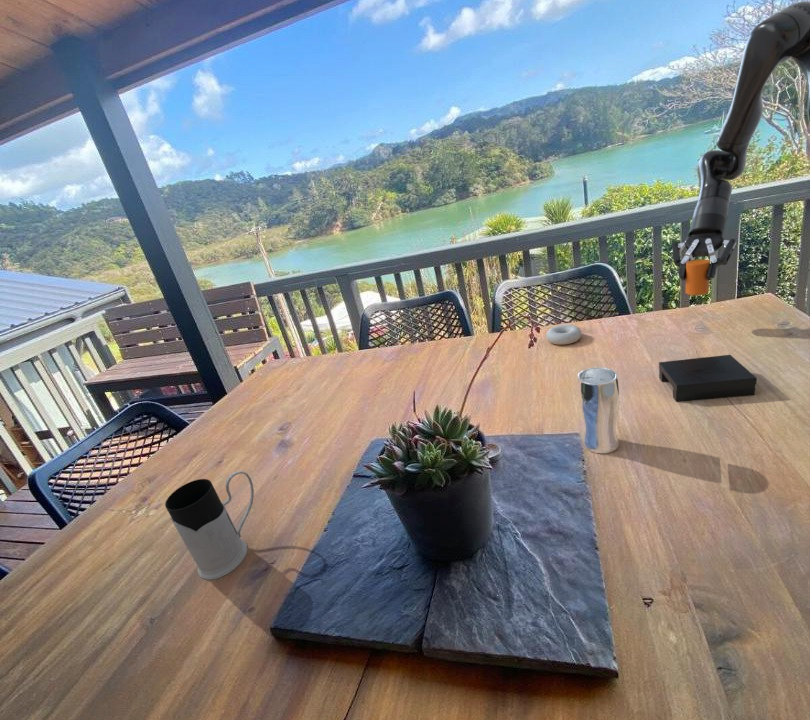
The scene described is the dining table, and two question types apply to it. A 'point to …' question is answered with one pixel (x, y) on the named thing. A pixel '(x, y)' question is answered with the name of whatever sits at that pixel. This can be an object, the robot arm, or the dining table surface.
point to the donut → (563, 334)
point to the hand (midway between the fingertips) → (695, 278)
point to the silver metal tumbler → (599, 408)
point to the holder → (208, 527)
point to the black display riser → (707, 378)
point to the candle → (697, 277)
